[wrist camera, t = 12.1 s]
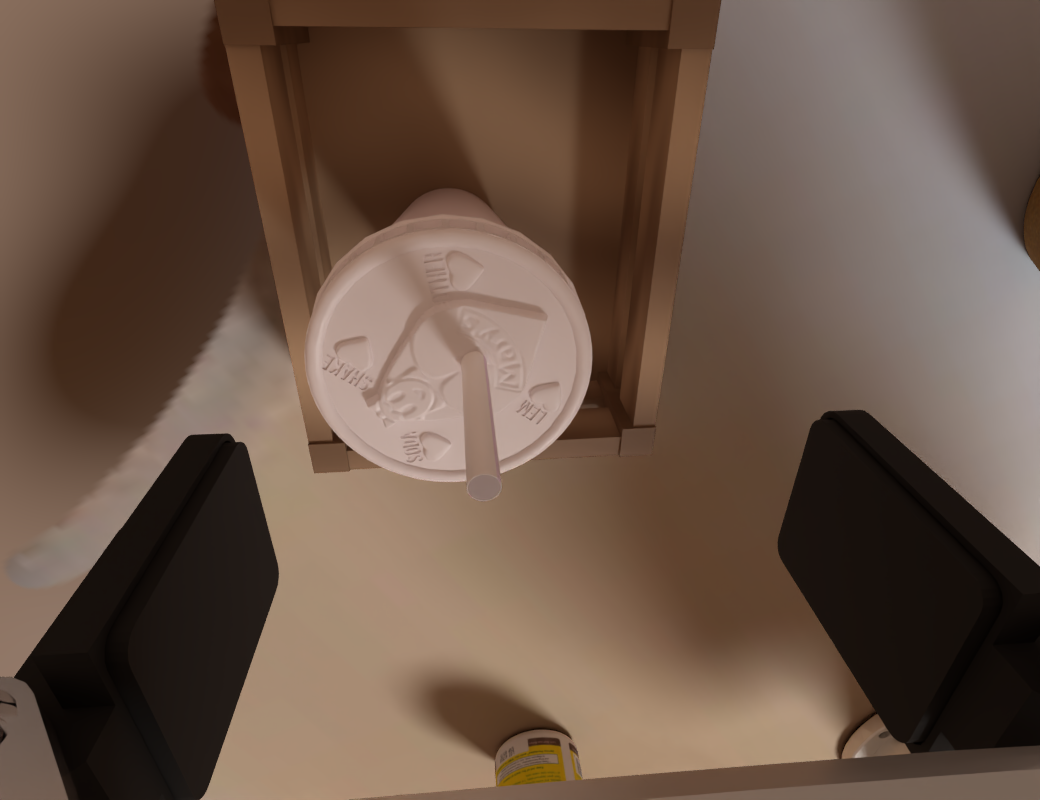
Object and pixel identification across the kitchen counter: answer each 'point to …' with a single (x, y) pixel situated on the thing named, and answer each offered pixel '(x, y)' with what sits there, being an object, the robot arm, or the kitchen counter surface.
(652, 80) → the crate
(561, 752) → the supplement bottle
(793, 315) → the kitchen counter surface
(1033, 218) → the plant pot
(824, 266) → the kitchen counter surface
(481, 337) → the smoothie
